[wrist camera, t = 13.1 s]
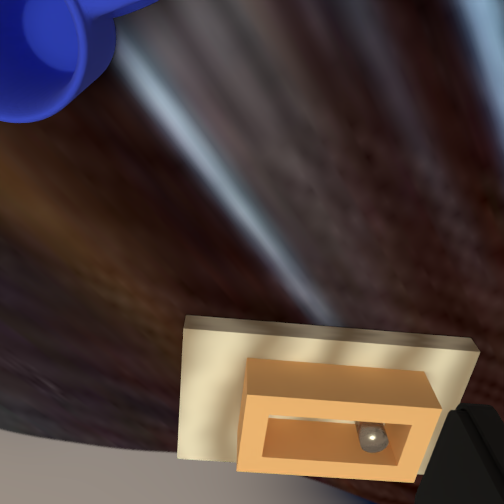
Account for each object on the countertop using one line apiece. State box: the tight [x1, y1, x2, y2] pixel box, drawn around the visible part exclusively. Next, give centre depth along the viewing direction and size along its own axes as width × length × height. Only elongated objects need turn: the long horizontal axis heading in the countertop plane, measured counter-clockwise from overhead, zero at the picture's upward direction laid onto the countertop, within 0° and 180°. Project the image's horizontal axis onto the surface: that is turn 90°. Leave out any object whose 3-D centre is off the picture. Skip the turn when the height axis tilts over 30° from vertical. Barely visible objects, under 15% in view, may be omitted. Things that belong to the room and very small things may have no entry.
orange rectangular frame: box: [237, 358, 442, 483], centre depth 43 cm, size 16×9×4 cm, turn 84°
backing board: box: [177, 315, 480, 474], centre depth 46 cm, size 26×16×2 cm, turn 84°
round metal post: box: [354, 421, 389, 453], centre depth 43 cm, size 2×2×4 cm
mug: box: [0, 0, 159, 123], centre depth 27 cm, size 8×12×10 cm
